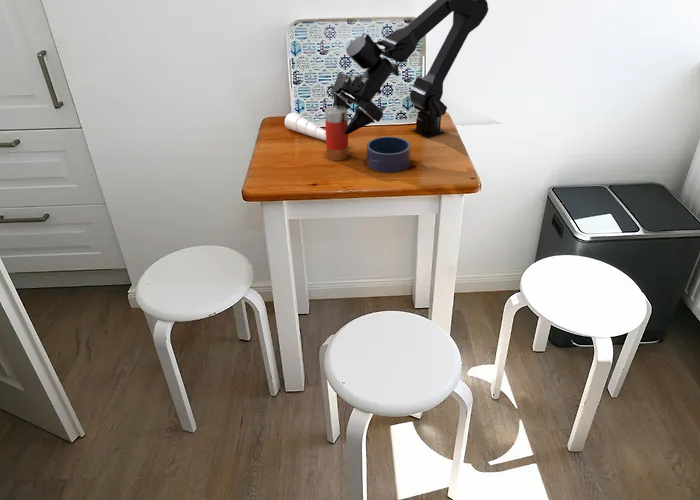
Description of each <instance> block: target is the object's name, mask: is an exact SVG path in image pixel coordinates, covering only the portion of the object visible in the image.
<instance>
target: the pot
mask: <svg viewBox="0 0 700 500" xmlns="http://www.w3.org/2000/svg"><path fill="white" fill-rule="evenodd" d="M410 162H411V143H410V142H409V141H408V140H407V139H405V138H402V137H397V136H380V137H379V136H378V137H375V138H373V139H371V140H369V141H367V143H366V165H367V167H368V168H370V169H371V170H373V171H376V172H381V173H396V172H397V173H398V172H400V171H404V170H406V169H407V168H409V166H410Z"/></svg>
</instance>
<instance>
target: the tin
mask: <svg viewBox="0 0 700 500" xmlns="http://www.w3.org/2000/svg"><path fill="white" fill-rule="evenodd" d="M324 125H325V126H324V127H325V131H326V141H325V144H326V145H325V146H326V157H327V158H328V159H329V160H330V161H344V160H346V159H347V158H348V157H349V147H348V145H349V134H348V135H346V134H345V133H344V132H345V130H346V128H347V126H348V125H349V118H348V110H347V108H346V107H343V106H333V105H330V106H328V107H326V108H325V109H324Z"/></svg>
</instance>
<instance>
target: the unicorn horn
mask: <svg viewBox="0 0 700 500" xmlns="http://www.w3.org/2000/svg"><path fill="white" fill-rule="evenodd" d="M284 126H285V128H286V129H288V130H290V131H293V132H297V133H299V134H303V135H306V136H309V137H312V138H314V139H318V140H321V141H324V142H326V129H323V128H322V127H320V126H318V125H317V124H315V123H313V122H312V121H310V120H308V119H306V118H304V117H302V116H301V115H299V114H297V113H295V112H290V113H288V114H287V115H286V117H285V118H284ZM349 147H350V145H349V144H348V148H349Z"/></svg>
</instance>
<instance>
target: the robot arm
mask: <svg viewBox="0 0 700 500" xmlns="http://www.w3.org/2000/svg"><path fill="white" fill-rule="evenodd" d="M488 12H489V4H488V1H487V0H435V1H434V2H433V3H432V4H430V5H429V6H427V8H426V9H425V10H424V11H423V12H421V13H420V14H419V15H418V16H417V17H416V18H414V19H413V20H412V21H411V22H410V23H409V24H407V25H406V26H404V27H402V28H399V29H396V30H394V31H392V32H391V33H388V35H386V36H385V37H384V38H383V39H382V40H379V41H376V42H375V41H374V40H373V39H372V37H371V36H370V35H369V34H368V33H365V32H363V33H362V35H361V36H358V37H356V38H355V39H354V40H353V41H350V43H349V44H348V46H347V48H346V55H347V56H348V57H349V58H351V59H352V61H354V62H355V63H356V64H357V65H358V66H359V67H360V68H361V69H362V70H365V71H364V72H363V74H361V73H359V74H357V75H355V74H353V75H350V74H346V73H343V72H340V71H338V74H337V76H336V79H335V82H334V84H333V85H332V87H331V88H330V90H331V95H332V97H333V104H332V106H343V107H346V108H347V111H348V110H349V109H350V108H351V105H352V104H354V105H355V106H354V115H353V117H352V118H351V120H350V121H349V122H348V126H347V128H346V130H345V132H344V133H345V134H346V135H348V136H349V135H350V134H352V133H354V132H357V131H358V130H359V129H361V128H363V127H365V126H367V125H370V124H374V123H375V122H378V123H379V122H380V121H381V120H382V119H383V117H384V111H383V110H382V109H381V108H380V107H379V106H378V105H377V104H375V102H373V101H372V100H373V99H374V98H375V96H376V95H377V94H378V95H381V94H382V92H383V90H382V89H381V88H382V87H383V85H385V83H386V81H388V79H389V77H390V76H391V75H394V76H395V77H399V76H400V71H399V64H397V63H404V62H406V61H407V60H408V59H409V58H410V57H411V55H412V54H414V52H415V51H416V49H417V46H418V43H419V42H420V41H421V40H422V39H423V38H424V37H425V36H426V35H428V33H430V32H431V31H432V30H433V29H435V28H436V26H438V25H439V24H440V23H441V22H442V21H444V20H445V19H446V18H447V17H448V16H449V15H450V14H452V26H451V28H450V29H449V31H448V33H447V35H446V37H445V39H444V41H443V43H442V45H441V46H440V48H439V51H438V52H437V54H436V57H434V60H433V62H432V64H431V66H430V68H429V70H428V72H427V73H426V74H425V75H424V76H423V77H421V76H417V77H416V78H415V80H414V83H413V85H412V86H411V88H410V89H409V90H410V93H409V99H410V102H411V104H412V105H413V108H414V110H417V117H416V119H415V120H416V122H415V128H413V132H415V133H417V134H419V135H421V136H423V137H424V138H431V137H434V136H437V135H440V134H444V132H445V131H444V130H443V129H441V123H442V116H444V115H446V113H447V111H448V106H447V105H445V103H444V102H443V101H442V100H441V99H442V98H443V94H444V82H445V80H446V78H447V75H448V74H449V72H450V70H451V68H452V66H453V65H454V63H455V61H456V59H457V57H458V55H459V53H460V52H461V50H462V48H463V45H464V44H465V42H466V40H467V38H468V36H469V34H470V33H472V32H473V31H474V30H475V29H477V28H478V27H479V26H480V25H481V24H482V22H483V20H484V19H485V18H486V16H487V14H488ZM381 56H384V57H381ZM390 60H393V61H395V62H397V63H395V62H394V63H393V62H391V61H390Z"/></svg>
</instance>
